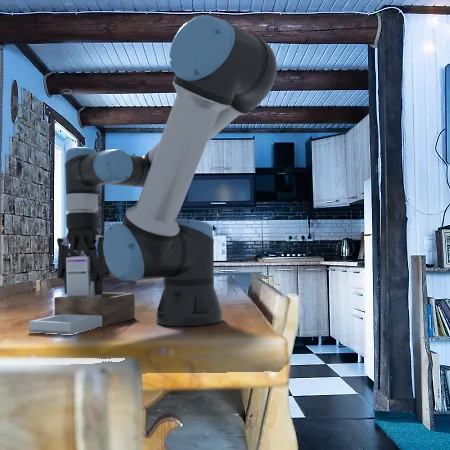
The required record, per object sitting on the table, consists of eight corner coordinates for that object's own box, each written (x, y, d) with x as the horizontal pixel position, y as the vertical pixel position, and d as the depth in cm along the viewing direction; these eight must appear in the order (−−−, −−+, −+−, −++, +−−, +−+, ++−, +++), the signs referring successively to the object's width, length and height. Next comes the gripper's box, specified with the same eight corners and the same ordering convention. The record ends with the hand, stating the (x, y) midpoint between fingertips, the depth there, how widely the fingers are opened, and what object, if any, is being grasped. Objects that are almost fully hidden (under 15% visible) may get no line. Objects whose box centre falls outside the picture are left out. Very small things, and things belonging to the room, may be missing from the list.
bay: (134, 318, 121) (134, 293, 122) (105, 326, 110) (105, 298, 111) (86, 315, 127) (86, 292, 127) (54, 323, 116) (54, 297, 116)
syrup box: (89, 318, 116) (88, 256, 117) (66, 318, 118) (65, 256, 118) (100, 314, 122) (99, 255, 122) (78, 314, 123) (77, 255, 124)
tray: (102, 327, 109) (102, 315, 109) (70, 335, 99) (70, 323, 100) (63, 325, 113) (63, 313, 113) (29, 333, 103) (29, 321, 103)
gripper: (124, 211, 121) (126, 307, 120) (60, 215, 128) (62, 305, 127) (106, 209, 114) (107, 311, 113) (39, 213, 121) (41, 309, 120)
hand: (83, 308), depth 120 cm, fingers closed on syrup box, 6 cm apart
